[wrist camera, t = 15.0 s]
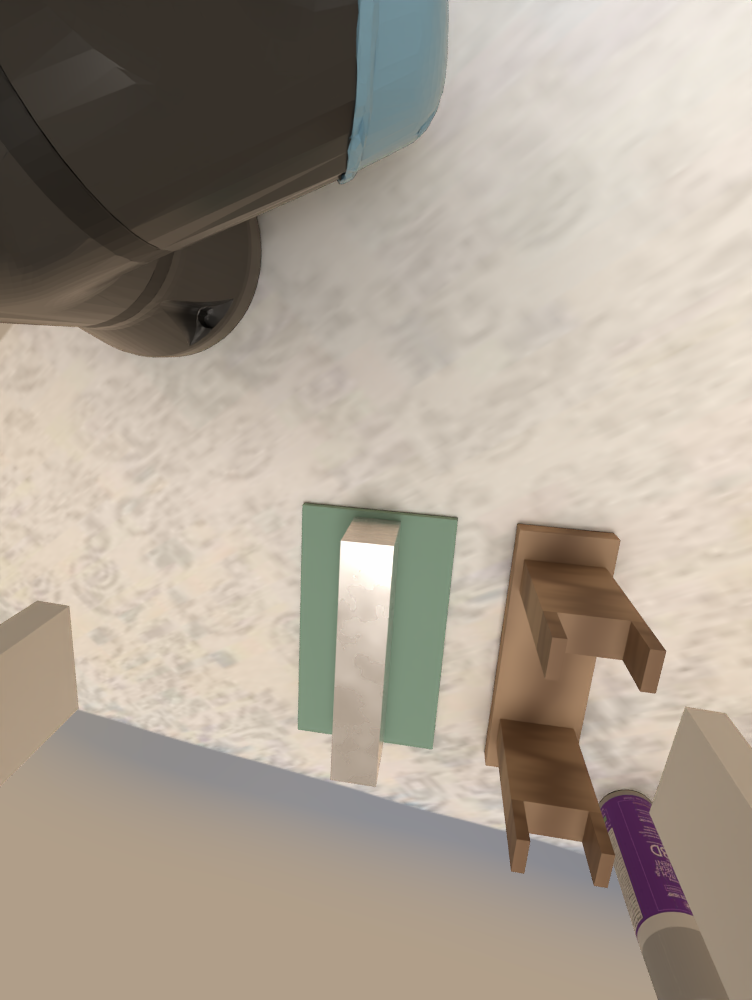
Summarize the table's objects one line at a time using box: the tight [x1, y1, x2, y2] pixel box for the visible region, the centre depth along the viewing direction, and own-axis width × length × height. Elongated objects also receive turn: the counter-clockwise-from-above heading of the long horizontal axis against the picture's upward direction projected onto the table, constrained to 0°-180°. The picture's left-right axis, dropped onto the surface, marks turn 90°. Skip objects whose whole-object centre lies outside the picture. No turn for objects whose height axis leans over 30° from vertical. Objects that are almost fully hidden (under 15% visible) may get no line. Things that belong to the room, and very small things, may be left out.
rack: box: [485, 524, 666, 888], centre depth 36 cm, size 7×21×12 cm, turn 177°
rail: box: [330, 517, 401, 787], centre depth 40 cm, size 4×20×5 cm, turn 177°
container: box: [599, 790, 729, 1000], centre depth 38 cm, size 5×5×15 cm
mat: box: [298, 503, 458, 749], centre depth 43 cm, size 12×21×1 cm, turn 177°
